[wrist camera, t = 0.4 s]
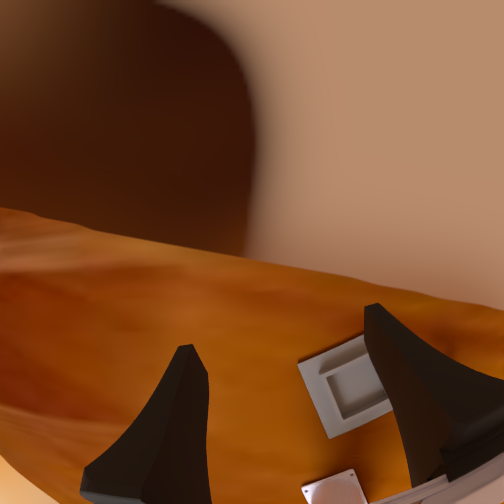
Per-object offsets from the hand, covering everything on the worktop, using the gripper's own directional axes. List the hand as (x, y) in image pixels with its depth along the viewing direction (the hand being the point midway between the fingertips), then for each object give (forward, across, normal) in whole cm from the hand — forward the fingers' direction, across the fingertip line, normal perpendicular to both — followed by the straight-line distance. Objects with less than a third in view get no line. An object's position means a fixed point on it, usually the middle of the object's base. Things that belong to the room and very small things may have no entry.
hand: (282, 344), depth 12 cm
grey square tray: (+14, -8, +27) cm, 31 cm away
